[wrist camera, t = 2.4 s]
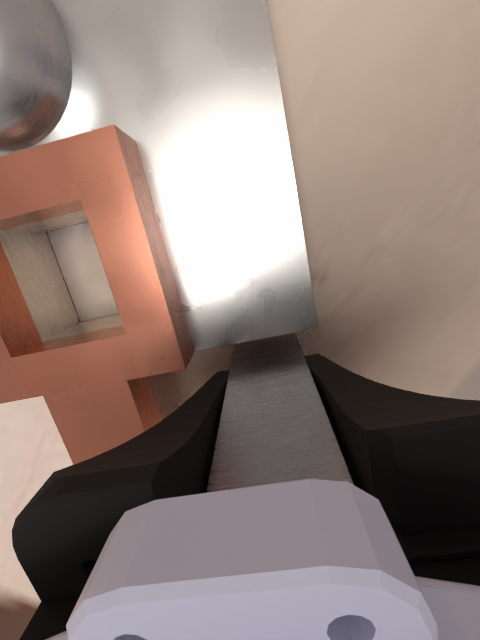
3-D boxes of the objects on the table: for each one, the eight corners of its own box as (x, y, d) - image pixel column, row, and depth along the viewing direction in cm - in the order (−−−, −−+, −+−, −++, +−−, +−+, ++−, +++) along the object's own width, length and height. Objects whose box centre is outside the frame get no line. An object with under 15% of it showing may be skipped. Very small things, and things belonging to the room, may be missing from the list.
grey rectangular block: (293, 328, 13) (363, 510, 5) (303, 381, 14) (379, 624, 5) (235, 339, 14) (199, 530, 5) (247, 390, 14) (234, 637, 6)
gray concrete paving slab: (182, -440, 8) (109, -1115, 4) (323, 410, 14) (348, 476, 10) (-310, -200, 9) (-701, -499, 6) (19, 459, 16) (-56, 531, 12)
